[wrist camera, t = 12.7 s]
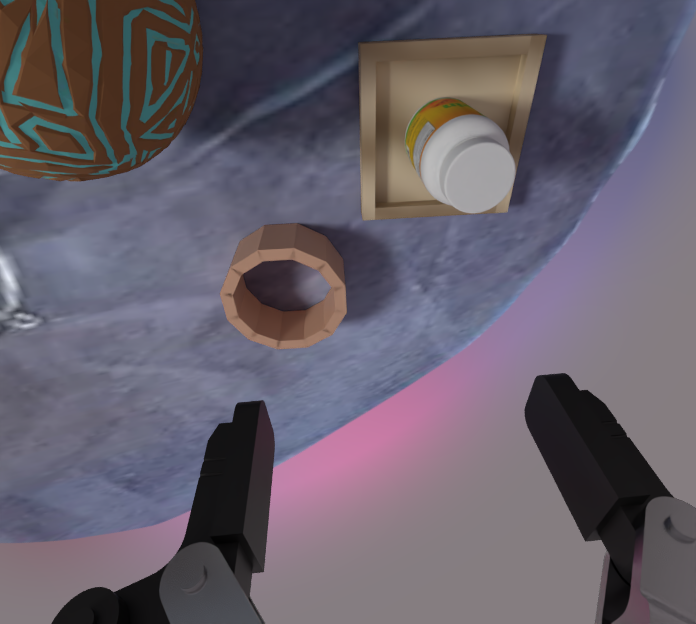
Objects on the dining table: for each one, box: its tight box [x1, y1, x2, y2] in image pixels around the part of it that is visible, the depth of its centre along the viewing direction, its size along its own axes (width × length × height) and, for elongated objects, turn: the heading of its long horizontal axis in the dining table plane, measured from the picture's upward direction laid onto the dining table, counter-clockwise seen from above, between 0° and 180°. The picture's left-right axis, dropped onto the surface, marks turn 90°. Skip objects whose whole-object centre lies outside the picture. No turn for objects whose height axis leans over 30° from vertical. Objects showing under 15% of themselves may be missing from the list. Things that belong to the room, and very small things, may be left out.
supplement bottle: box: [405, 97, 516, 213], centre depth 26 cm, size 5×5×10 cm
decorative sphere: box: [0, 0, 203, 181], centre depth 19 cm, size 15×15×15 cm
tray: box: [358, 34, 547, 220], centre depth 29 cm, size 12×12×2 cm
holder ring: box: [220, 223, 347, 349], centre depth 35 cm, size 10×10×4 cm
